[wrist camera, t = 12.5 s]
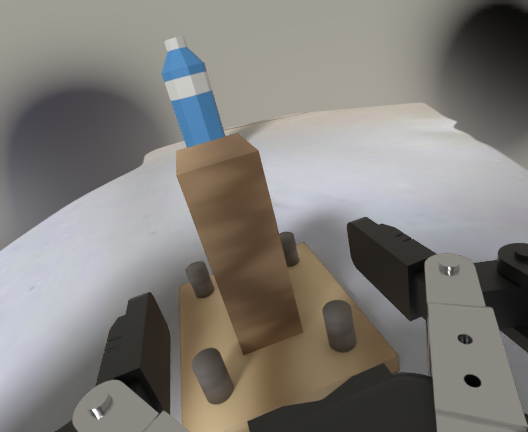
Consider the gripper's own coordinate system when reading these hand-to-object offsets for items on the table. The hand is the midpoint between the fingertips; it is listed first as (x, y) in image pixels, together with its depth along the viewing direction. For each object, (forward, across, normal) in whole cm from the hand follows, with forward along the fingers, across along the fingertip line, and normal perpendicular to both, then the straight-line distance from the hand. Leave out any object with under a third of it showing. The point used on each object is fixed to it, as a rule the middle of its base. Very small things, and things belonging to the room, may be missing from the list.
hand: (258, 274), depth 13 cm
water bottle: (+66, -3, +10) cm, 66 cm away
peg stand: (+8, 0, +10) cm, 12 cm away
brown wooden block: (+7, 0, +8) cm, 11 cm away
